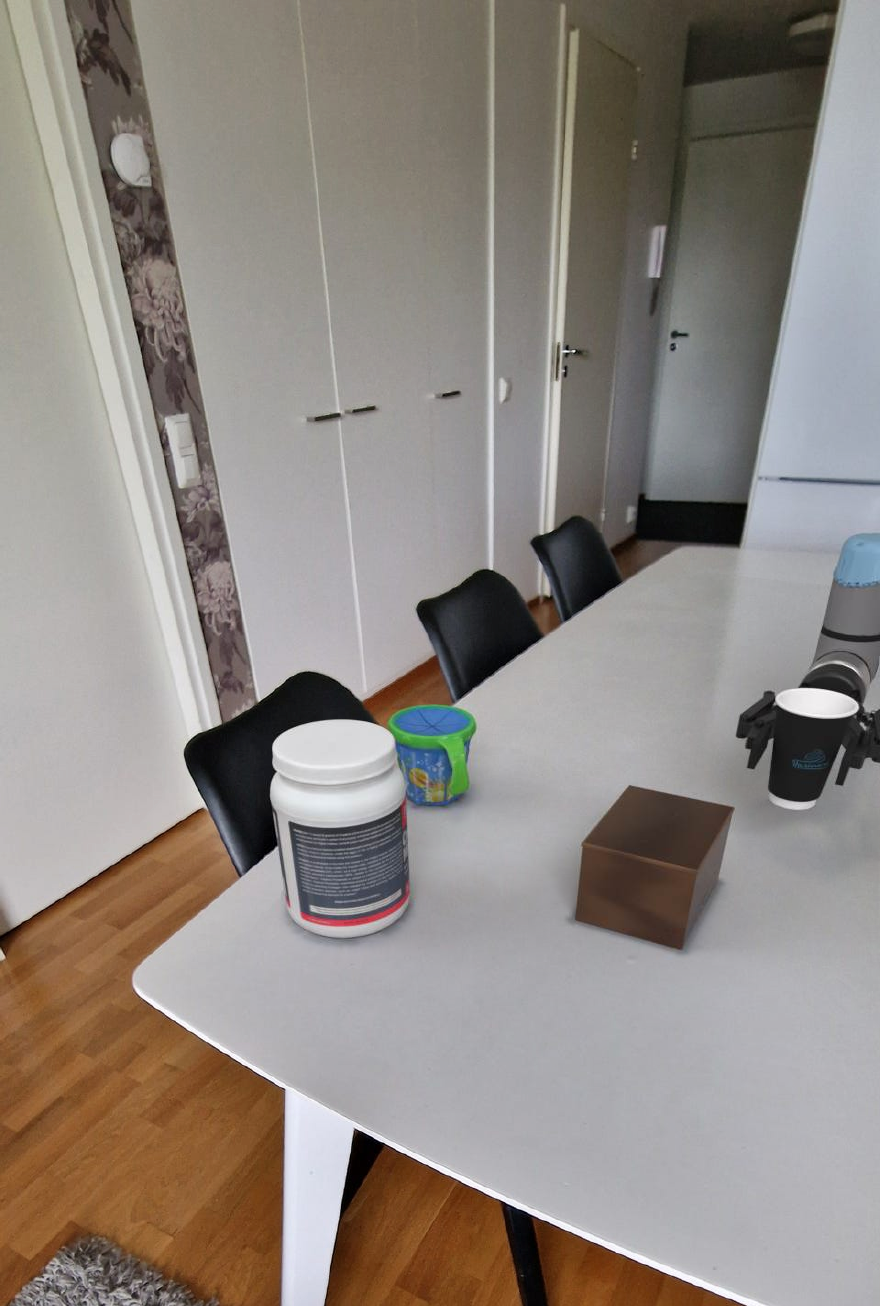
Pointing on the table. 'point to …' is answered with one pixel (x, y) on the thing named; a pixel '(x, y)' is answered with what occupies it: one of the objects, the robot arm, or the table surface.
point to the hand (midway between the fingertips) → (796, 764)
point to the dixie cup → (806, 743)
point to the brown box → (652, 865)
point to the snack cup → (433, 751)
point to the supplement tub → (341, 827)
